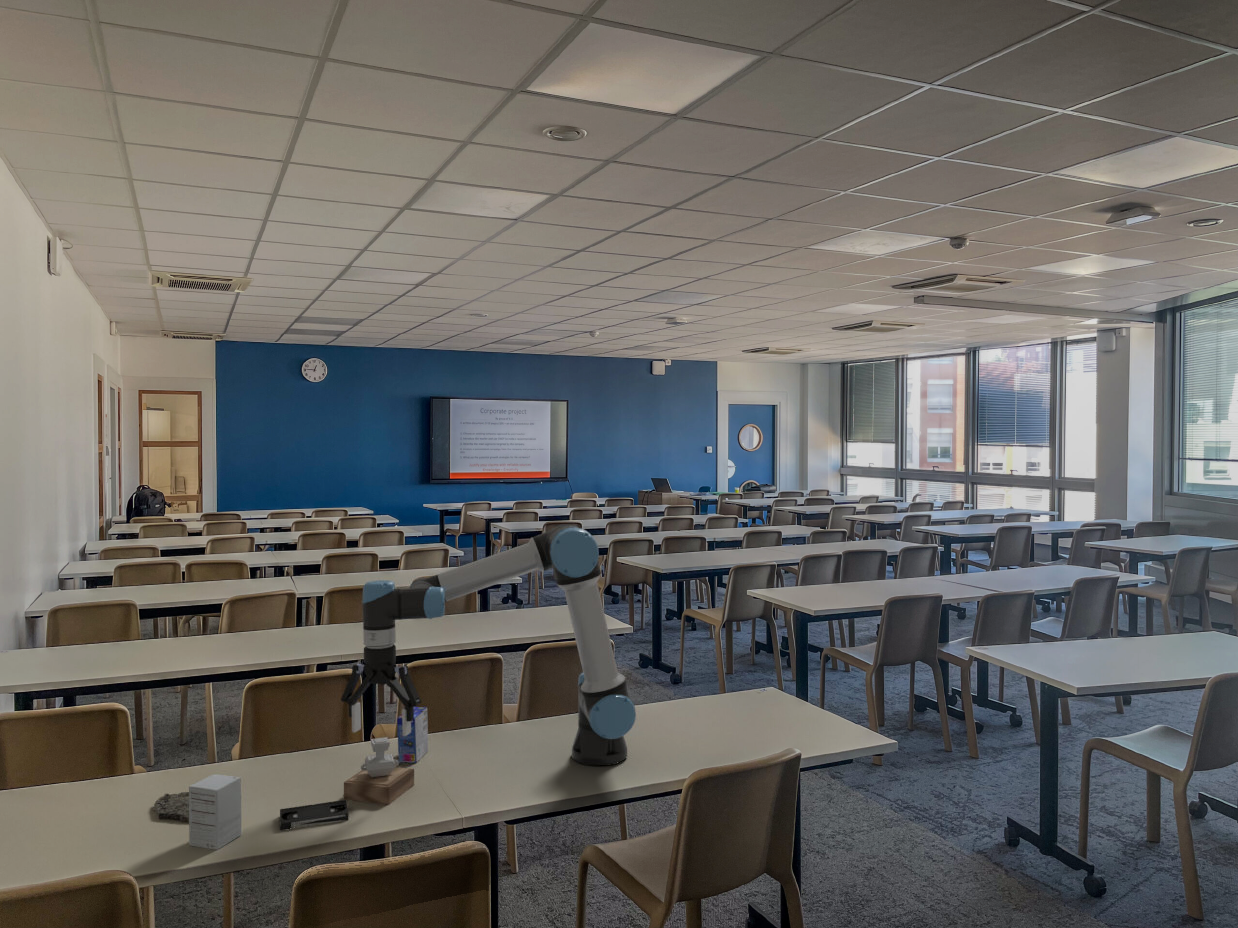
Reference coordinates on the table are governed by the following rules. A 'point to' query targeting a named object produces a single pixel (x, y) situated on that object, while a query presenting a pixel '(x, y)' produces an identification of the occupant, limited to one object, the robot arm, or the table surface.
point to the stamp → (380, 759)
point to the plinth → (379, 786)
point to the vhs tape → (313, 814)
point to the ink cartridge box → (413, 737)
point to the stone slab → (173, 806)
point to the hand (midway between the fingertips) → (381, 732)
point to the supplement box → (214, 811)
